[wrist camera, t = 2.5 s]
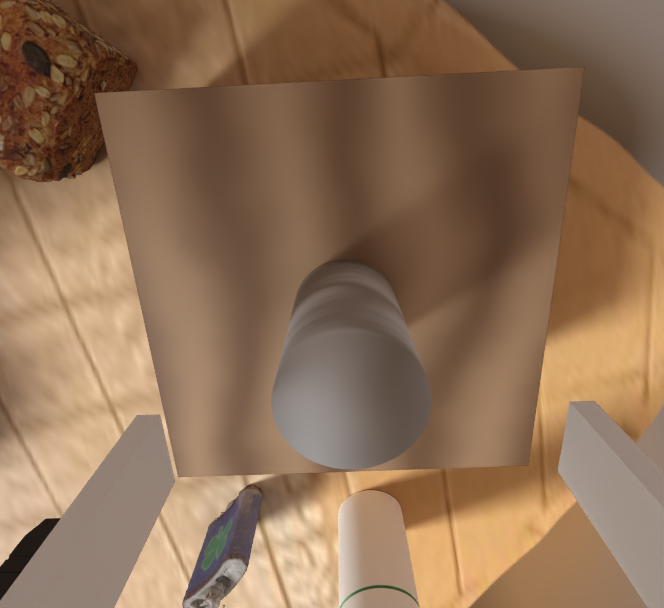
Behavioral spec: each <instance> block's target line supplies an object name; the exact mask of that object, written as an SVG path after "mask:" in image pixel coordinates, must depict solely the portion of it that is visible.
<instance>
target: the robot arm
mask: <svg viewBox="0 0 664 608" xmlns="http://www.w3.org/2000/svg"><path fill="white" fill-rule="evenodd" d="M558 473H559V474H560V476H561V477H562V479H563V480H564V482H565V483H566V485H567V486H568V488H569V489H570V491H571V492H572V494H573V495H574V497H575V498H576V500H577V501H578V503H579V504H580V506H581V507H582V509H583V511H584V512H585V514H586V515H587V517H588V518H589V519H590V521H591V523H592V524H593V526H594V527H595V529H596V530H597V532H598V533H599V535H600V536H601V538H602V539H603V541H604V542H605V544H606V545H607V547H608V548H609V550H610V551H611V553H612V554H613V556H614V557H615V559H616V560H617V562H618V563H619V565H620V566H621V568H622V569H623V571H624V572H625V574H626V576H627V577H628V578H629V580H630V581H631V583H632V585H633V586H634V588H635V589H636V591H637V592H638V594H639V595H640V597H641V598H642V600H643V601H644V603H645V604H646V606H647V607H648V608H664V472H663V471H662V470H661V469H660V467H659V466H658V465H657V464H656V463H655V462H654V461H653V460H652V459H651V458H650V457H649V456H648V455H647V454H646V453H645V452H644V451H643V450H642V449H641V448H640V447H639V446H638V445H637V444H636V443H635V442H634V441H633V440H632V439H631V438H630V437H629V436H628V435H627V434H626V433H625V432H624V431H623V430H622V429H621V428H620V427H619V426H618V425H617V424H616V423H615V422H614V421H613V420H612V419H611V418H610V417H609V416H608V415H607V413H606V412H605V411H604V410H603V409H602V408H601V407H600V406H599V405H598V404H597V403H596V402H595V401H579V402H570V403H569V408H568V414H567V420H566V426H565V431H564V437H563V443H562V449H561V454H560V460H559V466H558ZM174 482H175V479H174V475H173V470H172V466H171V461H170V457H169V452H168V448H167V443H166V439H165V434H164V430H163V425H162V421H161V417H160V415H137V416H136V417H135V419H134V420H133V421H132V423H131V424H130V425H129V427H128V428H127V429H126V431H125V432H124V433H123V435H122V436H121V438H120V439H119V440H118V442H117V443H116V444H115V446H114V447H113V448H112V450H111V451H110V452H109V454H108V455H107V457H106V458H105V459H104V461H103V462H102V463H101V465H100V466H99V467H98V469H97V470H96V471H95V473H94V474H93V476H92V477H91V478H90V480H89V481H88V482H87V484H86V485H85V486H84V488H83V489H82V490H81V492H80V493H79V495H78V496H77V497H76V499H75V500H74V501H73V503H72V504H71V505H70V507H69V508H68V509H67V511H66V512H65V514H64V515H63V516H62V518H53V519H45V520H44V521H43V522H41V523H40V524H39V525H38V526H37V527H35V528H34V529H33V530H32V531H30V532H29V533H28V534H27V535H25V536H24V538H23V539H22V540H21V541H20V543H19V544H18V545H17V546H16V548H15V549H14V550H13V551H12V553H11V554H10V555H9V559H8V560H5V562H4V563H3V564H2V565H1V567H0V608H114V607H115V605H116V603H117V601H118V599H119V596H120V594H121V592H122V590H123V588H124V586H125V584H126V582H127V580H128V578H129V576H130V574H131V572H132V569H133V567H134V565H135V563H136V561H137V559H138V557H139V555H140V553H141V551H142V549H143V547H144V545H145V543H146V540H147V538H148V536H149V534H150V532H151V530H152V528H153V526H154V524H155V522H156V520H157V518H158V516H159V513H160V511H161V509H162V507H163V505H164V503H165V501H166V499H167V497H168V495H169V493H170V491H171V489H172V486H173V484H174Z"/></svg>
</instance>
